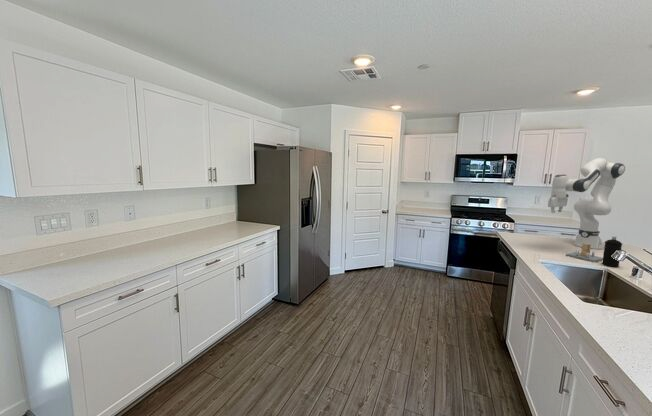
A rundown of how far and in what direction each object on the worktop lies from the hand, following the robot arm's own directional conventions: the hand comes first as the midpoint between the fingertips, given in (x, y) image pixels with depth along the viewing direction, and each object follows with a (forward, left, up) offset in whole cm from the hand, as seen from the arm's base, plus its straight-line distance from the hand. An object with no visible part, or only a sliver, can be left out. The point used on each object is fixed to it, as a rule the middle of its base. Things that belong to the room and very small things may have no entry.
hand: (556, 212), depth 214 cm
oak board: (+2, +21, -30) cm, 37 cm away
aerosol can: (+7, +37, -31) cm, 49 cm away
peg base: (+2, +21, -31) cm, 38 cm away
